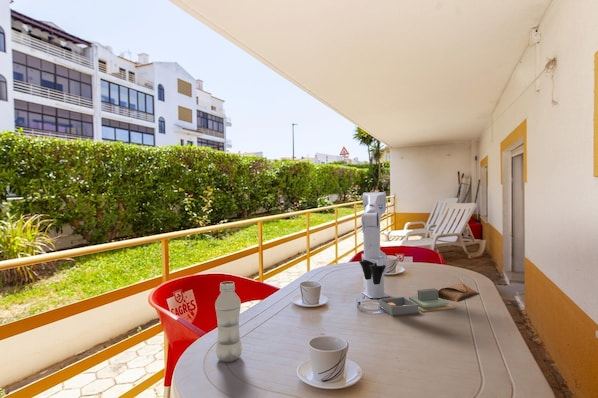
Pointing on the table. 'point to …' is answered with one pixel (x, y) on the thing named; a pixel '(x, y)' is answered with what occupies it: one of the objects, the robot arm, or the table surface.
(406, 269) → the table surface
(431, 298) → the lid
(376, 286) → the robot arm
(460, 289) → the sunglasses case
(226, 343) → the plastic bottle
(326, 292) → the table surface
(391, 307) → the storage box
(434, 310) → the cork mat
